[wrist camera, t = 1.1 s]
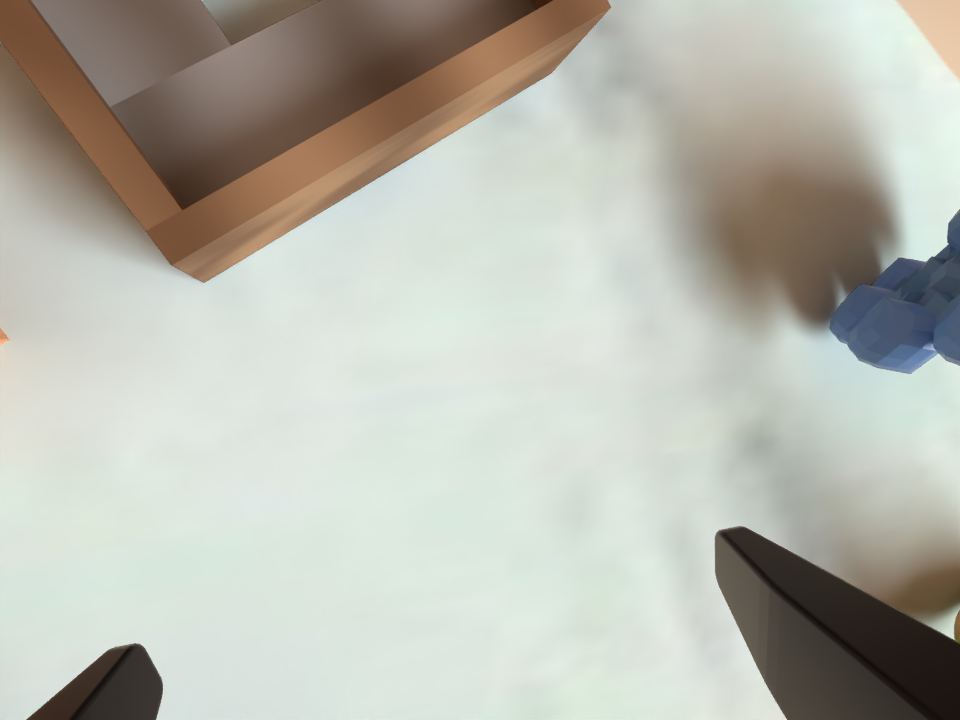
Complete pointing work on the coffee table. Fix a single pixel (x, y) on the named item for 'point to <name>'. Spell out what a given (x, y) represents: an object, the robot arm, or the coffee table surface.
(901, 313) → the grapes
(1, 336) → the peg
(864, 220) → the coffee table surface
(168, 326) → the coffee table surface
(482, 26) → the socket box
